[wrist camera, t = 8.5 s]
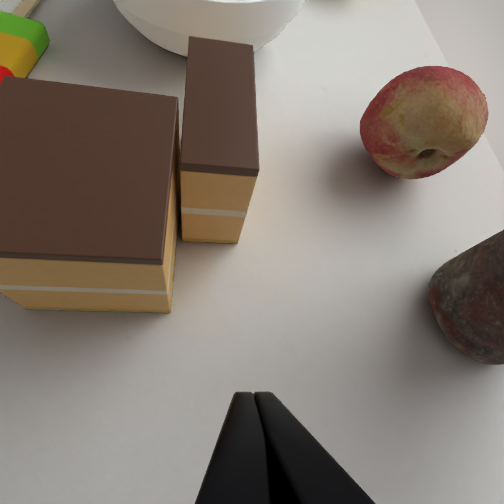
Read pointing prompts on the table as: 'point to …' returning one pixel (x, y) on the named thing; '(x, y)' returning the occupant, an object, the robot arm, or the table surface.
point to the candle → (473, 300)
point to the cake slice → (218, 140)
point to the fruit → (423, 121)
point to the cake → (87, 196)
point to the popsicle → (21, 40)
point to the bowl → (209, 20)
